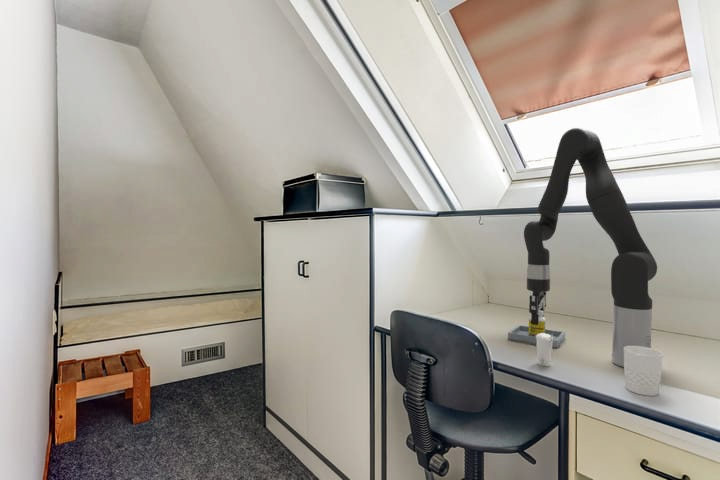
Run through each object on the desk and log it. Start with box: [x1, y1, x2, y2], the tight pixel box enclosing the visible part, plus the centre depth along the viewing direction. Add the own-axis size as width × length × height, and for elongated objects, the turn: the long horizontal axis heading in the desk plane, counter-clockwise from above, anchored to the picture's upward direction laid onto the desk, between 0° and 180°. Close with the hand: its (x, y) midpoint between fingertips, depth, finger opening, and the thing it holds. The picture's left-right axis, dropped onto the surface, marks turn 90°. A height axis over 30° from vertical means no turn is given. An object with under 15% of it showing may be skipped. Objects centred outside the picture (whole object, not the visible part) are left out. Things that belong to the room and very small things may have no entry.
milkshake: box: [536, 333, 553, 367], centre depth 113 cm, size 4×5×10 cm
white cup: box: [623, 346, 664, 397], centre depth 96 cm, size 8×8×10 cm
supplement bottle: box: [528, 310, 547, 337], centre depth 139 cm, size 5×5×10 cm
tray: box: [507, 324, 566, 349], centre depth 139 cm, size 16×14×2 cm
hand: (537, 322), depth 138 cm, fingers open, 8 cm apart
